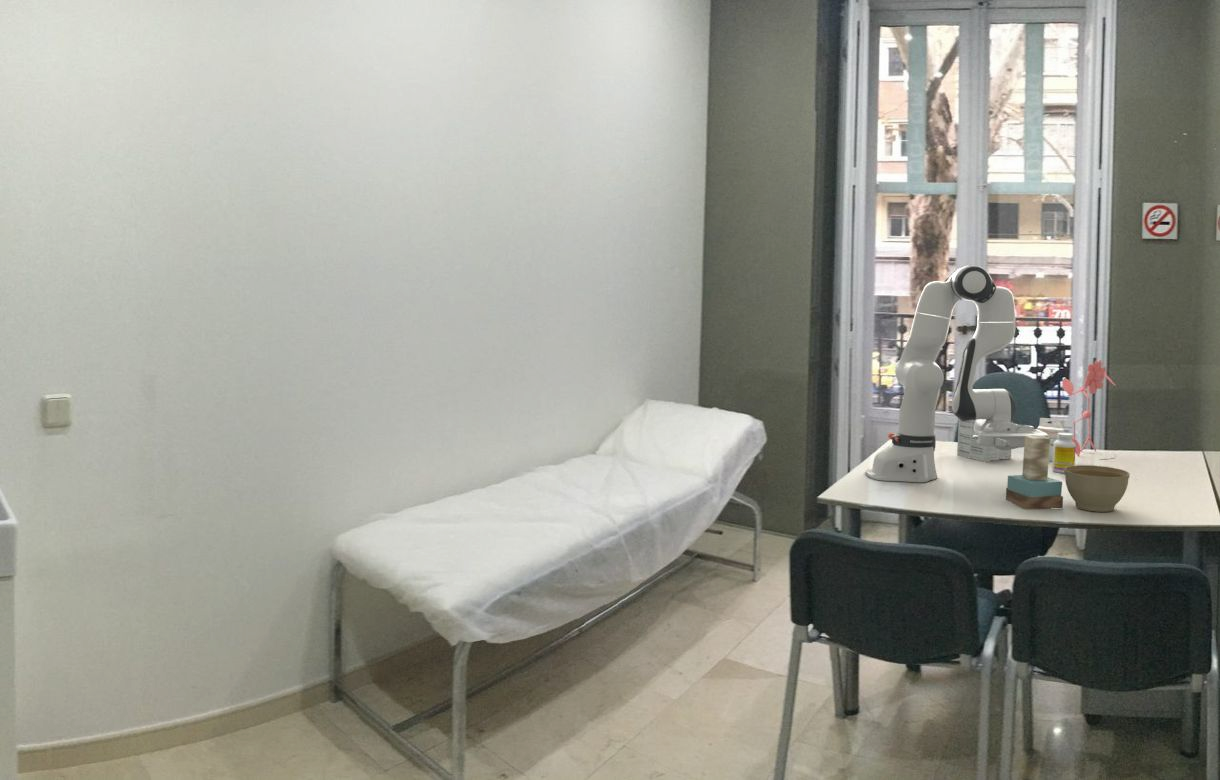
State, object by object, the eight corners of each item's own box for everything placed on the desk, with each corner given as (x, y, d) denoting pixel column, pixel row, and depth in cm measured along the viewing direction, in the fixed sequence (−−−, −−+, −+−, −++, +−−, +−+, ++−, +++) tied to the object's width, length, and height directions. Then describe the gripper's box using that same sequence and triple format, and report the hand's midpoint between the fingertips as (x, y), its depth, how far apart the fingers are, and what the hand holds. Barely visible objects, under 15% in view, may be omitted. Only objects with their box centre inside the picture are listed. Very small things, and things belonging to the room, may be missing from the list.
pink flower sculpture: (1049, 455, 325) (1057, 360, 320) (1091, 448, 338) (1099, 357, 333) (1090, 463, 312) (1099, 364, 307) (1132, 456, 325) (1141, 361, 320)
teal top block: (1031, 497, 250) (1032, 483, 249) (1007, 489, 259) (1007, 475, 259) (1061, 495, 252) (1062, 481, 251) (1036, 487, 262) (1037, 473, 261)
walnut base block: (1023, 510, 251) (1024, 497, 250) (1005, 501, 261) (1006, 487, 261) (1062, 510, 251) (1063, 496, 250) (1042, 500, 262) (1043, 487, 261)
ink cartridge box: (1034, 459, 317) (1036, 419, 316) (1036, 457, 322) (1038, 417, 320) (1061, 462, 313) (1063, 421, 311) (1062, 460, 317) (1065, 419, 315)
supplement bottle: (1076, 474, 294) (1079, 435, 293) (1055, 473, 296) (1057, 435, 294) (1070, 469, 301) (1073, 432, 299) (1049, 469, 302) (1051, 431, 301)
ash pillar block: (1029, 479, 253) (1031, 438, 251) (1022, 476, 258) (1024, 435, 256) (1047, 480, 252) (1050, 438, 251) (1040, 476, 257) (1042, 435, 256)
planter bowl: (1099, 500, 260) (1102, 463, 259) (1140, 514, 245) (1143, 475, 243) (1049, 502, 258) (1052, 465, 257) (1087, 517, 242) (1090, 478, 241)
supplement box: (983, 452, 331) (985, 405, 329) (1011, 458, 319) (1014, 410, 317) (956, 455, 326) (958, 408, 324) (984, 462, 314) (986, 413, 312)
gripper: (970, 425, 276) (987, 433, 262) (1037, 425, 275) (1058, 433, 262) (969, 445, 277) (986, 454, 263) (1036, 445, 276) (1056, 454, 262)
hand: (1023, 444), depth 262 cm, fingers open, 8 cm apart
